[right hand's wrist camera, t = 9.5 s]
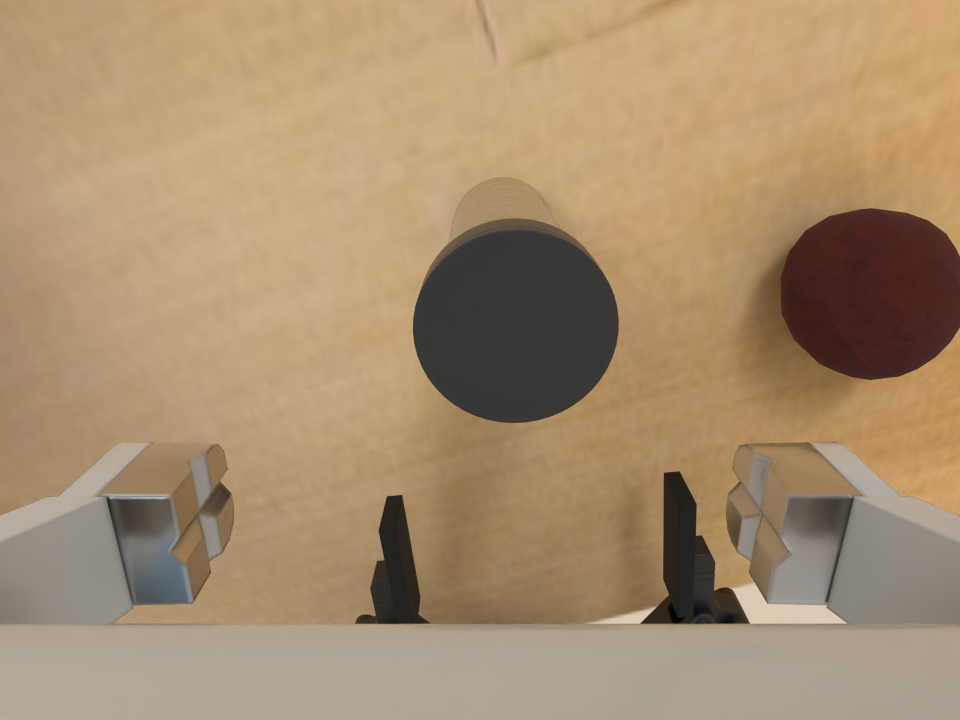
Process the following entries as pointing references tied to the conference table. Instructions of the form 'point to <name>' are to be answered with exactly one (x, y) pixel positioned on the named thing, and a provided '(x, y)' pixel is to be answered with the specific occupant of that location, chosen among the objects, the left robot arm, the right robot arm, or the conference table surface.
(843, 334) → the potato
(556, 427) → the conference table surface
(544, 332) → the lid
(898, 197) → the conference table surface
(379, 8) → the conference table surface
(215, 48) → the conference table surface
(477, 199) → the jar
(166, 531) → the right robot arm
